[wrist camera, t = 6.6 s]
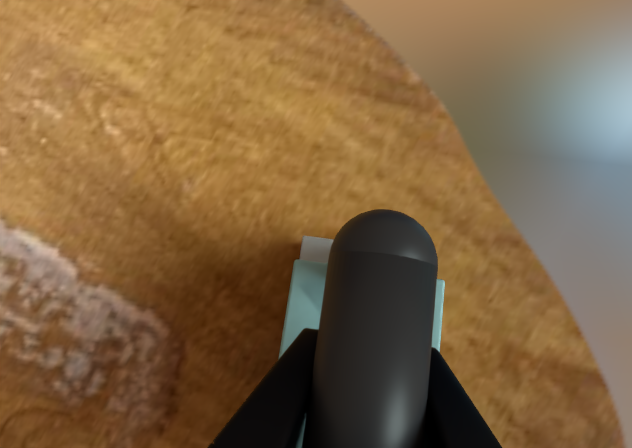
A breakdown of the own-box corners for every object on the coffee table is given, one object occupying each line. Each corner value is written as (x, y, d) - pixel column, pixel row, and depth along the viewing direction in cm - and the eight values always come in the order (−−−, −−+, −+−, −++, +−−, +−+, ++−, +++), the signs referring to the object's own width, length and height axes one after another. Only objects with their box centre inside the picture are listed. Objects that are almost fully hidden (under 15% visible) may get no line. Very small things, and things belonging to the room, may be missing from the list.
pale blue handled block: (402, 539, 14) (516, 907, 5) (261, 512, 14) (144, 810, 6) (427, 255, 16) (535, 176, 8) (304, 239, 17) (269, 145, 8)
